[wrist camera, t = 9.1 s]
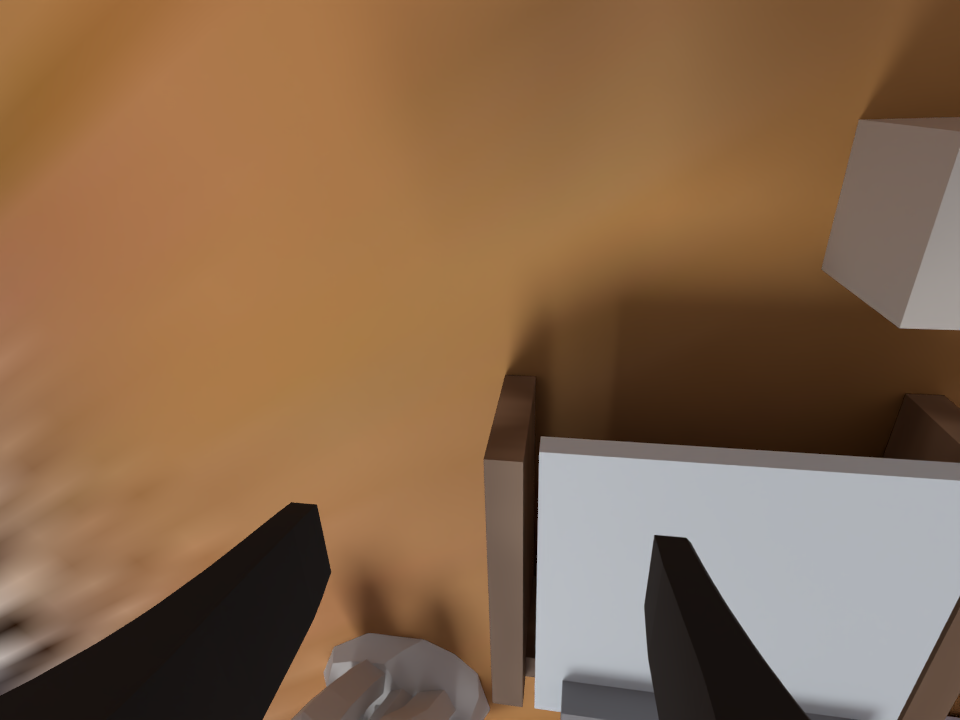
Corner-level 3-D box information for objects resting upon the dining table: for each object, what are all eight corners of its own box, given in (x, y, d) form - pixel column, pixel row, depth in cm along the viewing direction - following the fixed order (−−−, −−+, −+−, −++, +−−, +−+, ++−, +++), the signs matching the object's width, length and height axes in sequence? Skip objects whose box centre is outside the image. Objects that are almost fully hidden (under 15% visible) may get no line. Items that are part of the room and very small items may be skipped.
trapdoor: (994, 465, 14) (1052, 517, 13) (867, 733, 20) (895, 796, 18) (540, 436, 16) (536, 478, 15) (536, 687, 22) (532, 741, 20)
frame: (944, 395, 19) (1069, 501, 14) (851, 628, 24) (919, 763, 19) (505, 375, 21) (483, 459, 17) (508, 591, 27) (492, 702, 22)
